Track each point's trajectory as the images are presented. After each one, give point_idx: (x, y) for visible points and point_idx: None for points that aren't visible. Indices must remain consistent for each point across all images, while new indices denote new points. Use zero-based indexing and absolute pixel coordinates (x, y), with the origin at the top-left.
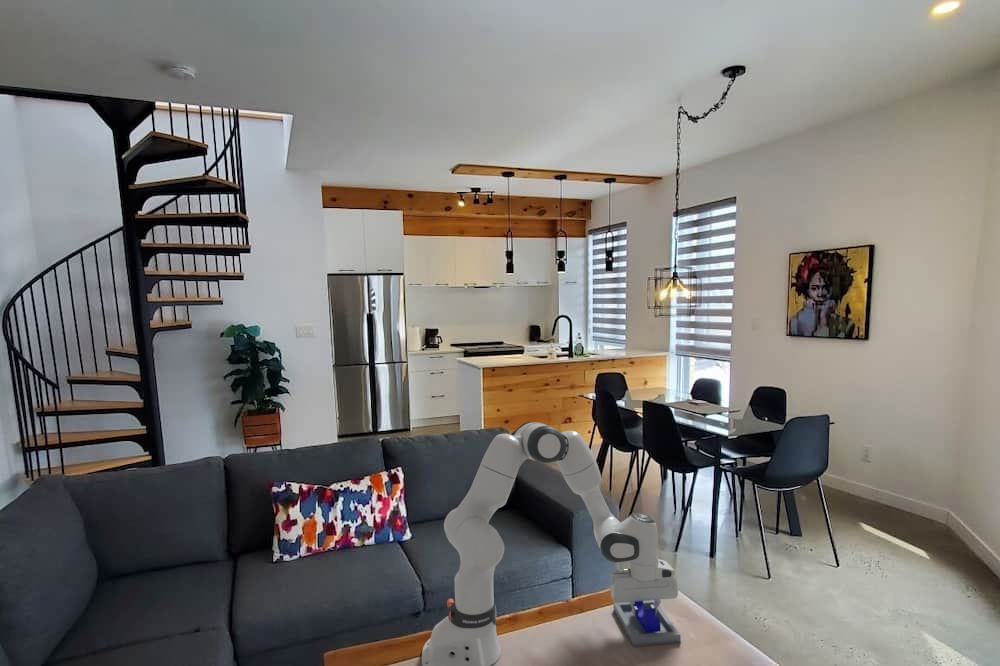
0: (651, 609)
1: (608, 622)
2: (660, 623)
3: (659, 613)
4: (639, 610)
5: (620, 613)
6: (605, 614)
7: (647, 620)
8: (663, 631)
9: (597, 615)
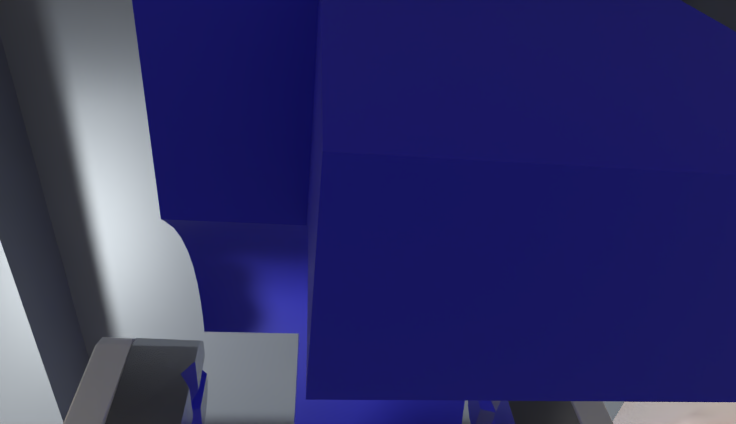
0: (452, 341)
1: None
2: (100, 205)
3: (56, 356)
4: (400, 415)
5: (608, 402)
6: (635, 414)
7: (626, 4)
8: (106, 7)
9: (715, 411)
